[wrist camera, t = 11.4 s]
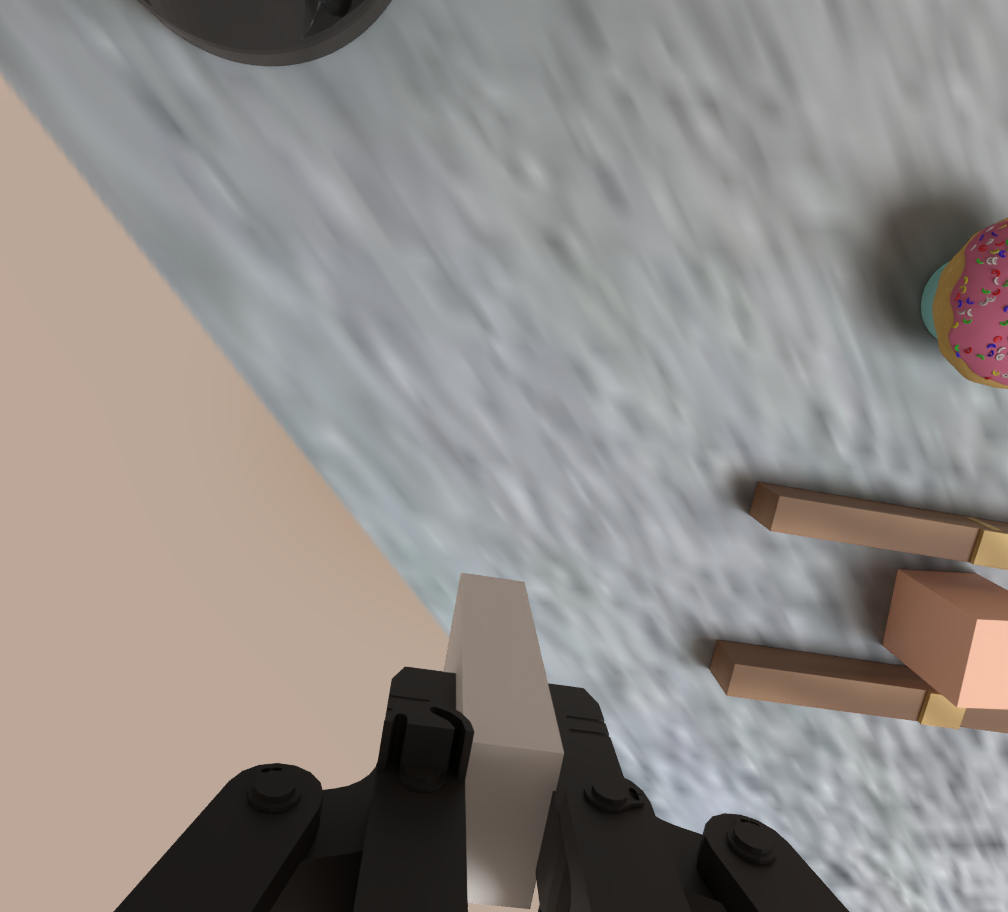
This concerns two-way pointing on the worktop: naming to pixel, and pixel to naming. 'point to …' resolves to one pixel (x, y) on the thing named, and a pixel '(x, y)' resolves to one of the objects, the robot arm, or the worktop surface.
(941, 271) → the cupcake
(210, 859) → the robot arm
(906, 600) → the block
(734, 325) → the worktop surface
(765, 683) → the slotted beam
